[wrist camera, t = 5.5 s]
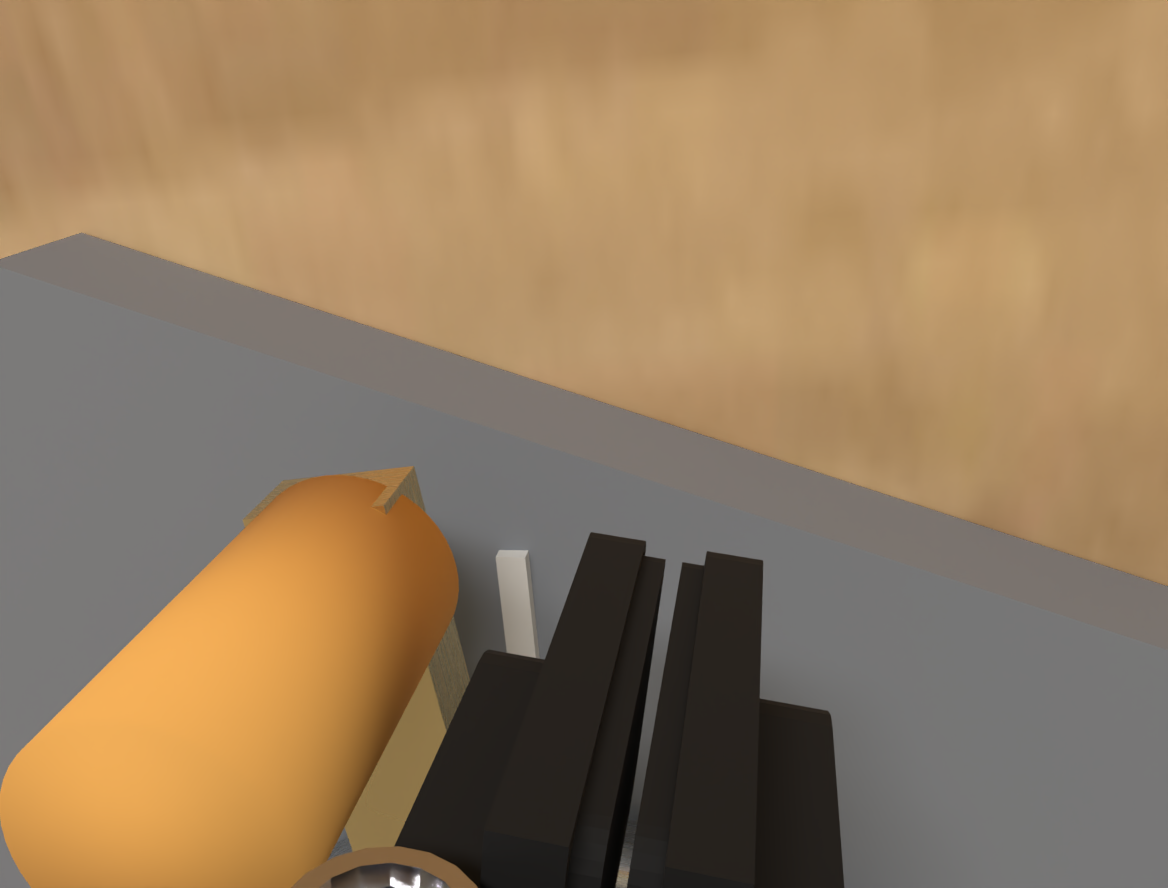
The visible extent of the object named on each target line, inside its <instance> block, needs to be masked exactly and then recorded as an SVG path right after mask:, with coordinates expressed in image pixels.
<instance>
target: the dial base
mask: <svg viewBox="0 0 1168 888" xmlns="http://www.w3.org/2000/svg"><path fill="white" fill-rule="evenodd" d="M410 466H414V468H415V471H416V475H417V479H418V483H419V487H420V491H421V494H422V498H423V502H424V506H425V510H426V514H427V515H428V516H429V517H430V518H431V519H432V520H433V522H434V523H435V524H436V525H437V526H438V528H439V529H440V531H441V532H442V534H443V536H444V537H445V539H446V540H447V543H448V545H449V547H450V549H451V551H452V554H453V557H454V560H455V563H456V567H457V572H458V580H459V593H458V602H457V605H456V609H455V613H454V615H453V617H454V621H455V624H456V628H457V632H458V636H459V640H460V644H461V647H462V651H463V655H464V659H465V663H466V667H467V670H468V674H469V678H470V679H471V677H472V675H473V673H474V671H475V668H476V666H477V664H478V662H479V660H480V658H481V657H482V655H483V653H484V652H485V651H487V650H488V649H489V650H494V651H500V652H506V653H511V654H517V655H522V656H528V657H533V658H539V659H544V660H545V657H546V655H547V652H548V649H549V646H550V644H551V641H552V638H553V635H554V632H555V630H556V627H557V624H558V621H559V618H560V616H561V613H562V610H563V607H564V604H565V602H566V599H567V596H568V593H569V590H570V588H571V585H572V582H573V579H574V576H575V574H576V571H577V568H578V565H579V562H580V560H581V557H582V554H583V551H584V548H585V546H586V543H587V540H588V537H589V535H590V533H591V532H594V533H601V534H607V535H613V536H619V537H625V538H631V539H637V540H643V541H646V553H645V556H649V557H655V558H661V559H666V562H665V570H664V578H663V585H662V592H661V599H660V606H659V613H658V620H657V627H656V634H655V641H654V648H653V655H652V662H651V669H650V676H649V683H648V690H647V697H646V704H645V712H644V719H643V726H642V733H641V740H640V747H639V754H638V761H637V768H636V775H635V782H634V788H633V794H632V801H631V806H630V812H629V818H628V819H630V820H634V821H638V815H639V810H640V804H641V798H642V792H643V787H644V781H645V775H646V769H647V763H648V758H649V752H650V746H651V740H652V735H653V729H654V723H655V717H656V711H657V706H658V700H659V694H660V688H661V683H662V677H663V671H664V665H665V659H666V654H667V648H668V642H669V636H670V631H671V625H672V619H673V613H674V607H675V602H676V596H677V590H678V584H679V579H680V573H681V567H682V562H686V563H692V564H698V565H704V564H705V558H706V553H707V551H710V552H716V553H722V554H728V555H734V556H741V557H747V558H753V559H759V560H763V596H762V632H761V668H760V699H766V700H771V701H777V702H782V703H788V704H793V705H799V706H804V707H810V708H816V709H821V710H827V711H828V712H829V713H830V715H831V720H832V726H833V740H834V753H835V767H836V780H837V794H838V807H839V821H840V835H841V848H842V862H843V875H844V888H1168V586H1165V585H1162V584H1159V583H1156V582H1153V581H1149V580H1146V579H1143V578H1140V577H1137V576H1134V575H1131V574H1128V573H1125V572H1122V571H1119V570H1116V569H1113V568H1110V567H1106V566H1103V565H1100V564H1097V563H1094V562H1091V561H1088V560H1085V559H1082V558H1079V557H1076V556H1073V555H1070V554H1067V553H1063V552H1060V551H1057V550H1054V549H1051V548H1048V547H1045V546H1042V545H1039V544H1036V543H1033V542H1030V541H1027V540H1024V539H1020V538H1017V537H1014V536H1011V535H1008V534H1005V533H1002V532H999V531H996V530H993V529H990V528H987V527H984V526H981V525H977V524H974V523H971V522H968V521H965V520H962V519H959V518H956V517H953V516H950V515H947V514H944V513H941V512H938V511H934V510H931V509H928V508H925V507H922V506H919V505H916V504H913V503H910V502H907V501H904V500H901V499H898V498H895V497H891V496H888V495H885V494H882V493H879V492H876V491H873V490H870V489H867V488H864V487H861V486H858V485H855V484H852V483H849V482H845V481H842V480H839V479H836V478H833V477H830V476H827V475H824V474H821V473H818V472H815V471H812V470H809V469H806V468H802V467H799V466H796V465H793V464H790V463H787V462H784V461H781V460H778V459H775V458H772V457H769V456H766V455H763V454H759V453H756V452H753V451H750V450H747V449H744V448H741V447H738V446H735V445H732V444H729V443H726V442H723V441H720V440H716V439H713V438H710V437H707V436H704V435H701V434H698V433H695V432H692V431H689V430H686V429H683V428H680V427H677V426H673V425H670V424H667V423H664V422H661V421H658V420H655V419H652V418H649V417H646V416H643V415H640V414H637V413H634V412H630V411H627V410H624V409H621V408H618V407H615V406H612V405H609V404H606V403H603V402H600V401H597V400H594V399H591V398H587V397H584V396H581V395H578V394H575V393H572V392H569V391H566V390H563V389H560V388H557V387H554V386H551V385H548V384H544V383H541V382H538V381H535V380H532V379H529V378H526V377H523V376H520V375H517V374H514V373H511V372H508V371H505V370H501V369H498V368H495V367H492V366H489V365H486V364H483V363H480V362H477V361H474V360H471V359H468V358H465V357H462V356H458V355H455V354H452V353H449V352H446V351H443V350H440V349H437V348H434V347H431V346H428V345H425V344H422V343H419V342H415V341H412V340H409V339H406V338H403V337H400V336H397V335H394V334H391V333H388V332H385V331H382V330H379V329H376V328H372V327H369V326H366V325H363V324H360V323H357V322H354V321H351V320H348V319H345V318H342V317H339V316H336V315H333V314H329V313H326V312H323V311H320V310H317V309H314V308H311V307H308V306H305V305H302V304H299V303H296V302H293V301H290V300H286V299H283V298H280V297H277V296H274V295H271V294H268V293H265V292H262V291H259V290H256V289H253V288H250V287H247V286H243V285H240V284H237V283H234V282H231V281H228V280H225V279H222V278H219V277H216V276H213V275H210V274H207V273H204V272H201V271H197V270H194V269H191V268H188V267H185V266H182V265H179V264H176V263H173V262H170V261H167V260H164V259H161V258H158V257H154V256H151V255H148V254H145V253H142V252H139V251H136V250H133V249H130V248H127V247H124V246H121V245H118V244H115V243H111V242H108V241H105V240H102V239H99V238H96V237H93V236H90V235H87V234H84V233H79V234H76V235H73V236H70V237H67V238H64V239H61V240H58V241H55V242H51V243H48V244H45V245H42V246H39V247H36V248H33V249H30V250H27V251H24V252H21V253H18V254H15V255H12V256H8V257H5V258H2V259H0V791H1V787H2V782H3V779H4V776H5V774H6V772H7V769H8V767H9V765H10V764H11V762H12V761H13V759H14V758H15V757H16V755H17V754H18V753H19V752H20V751H21V750H22V749H23V748H24V747H25V746H26V745H27V744H28V743H29V742H30V741H31V740H32V739H33V738H34V737H35V736H36V735H37V734H38V733H39V732H40V731H41V730H42V729H43V728H44V727H45V726H46V725H47V724H48V723H49V722H50V721H51V720H52V719H53V718H54V717H55V716H56V715H57V714H58V713H59V712H60V711H61V710H62V709H63V708H64V707H65V706H66V705H67V704H68V703H69V702H70V701H71V700H72V699H73V698H74V697H75V696H76V695H77V694H78V693H79V692H80V691H81V690H82V689H83V688H84V687H85V686H86V685H87V684H88V683H89V682H90V681H91V680H92V679H93V678H94V677H95V676H96V675H97V674H98V673H99V672H100V671H101V670H102V669H103V668H104V667H105V666H106V665H107V664H108V663H109V662H110V661H111V660H112V659H113V658H114V657H115V656H116V655H117V654H118V653H119V652H120V651H121V650H122V649H123V648H124V647H125V646H126V645H128V644H129V643H130V642H131V641H132V640H133V639H134V638H135V637H136V636H137V635H138V634H139V633H140V632H141V631H142V630H143V629H144V628H145V627H146V626H147V625H148V624H149V623H150V622H151V621H152V620H153V619H154V618H155V617H156V616H157V615H158V614H159V613H160V612H161V611H162V610H163V609H164V608H165V607H166V606H167V605H168V604H169V603H170V602H171V601H172V600H173V599H174V598H175V597H176V596H177V595H178V594H179V593H180V592H181V591H182V590H183V589H184V588H185V587H186V586H187V585H188V584H189V583H190V582H191V581H192V580H193V579H194V578H195V577H196V576H197V575H198V574H199V573H200V572H201V571H202V570H203V569H204V568H205V567H206V566H207V565H208V564H209V563H210V562H211V561H212V560H213V559H214V558H215V557H216V556H217V555H218V554H219V553H220V552H221V551H222V550H223V549H224V548H225V547H226V546H227V545H228V544H229V543H230V542H231V541H232V540H233V539H234V538H235V537H236V536H237V535H238V534H239V533H240V532H241V531H242V530H243V529H244V528H245V526H244V523H243V519H244V518H245V517H246V516H247V515H248V514H249V513H250V512H251V511H252V510H253V509H254V508H255V507H256V506H257V505H258V504H259V503H260V502H261V501H262V500H263V499H264V498H265V497H266V496H267V495H268V494H269V493H270V492H271V491H272V490H273V489H274V488H275V487H277V486H278V485H279V484H280V483H281V482H282V481H283V480H291V479H300V478H309V477H318V476H325V475H337V474H346V473H355V472H364V471H373V470H382V469H392V468H401V467H410ZM347 837H348V836H347V833H346V830H345V827H344V829H343V831H342V833H341V835H340V837H339V839H338V841H337V842H339V841H341V840H343V839H345V838H347ZM0 888H31V887H30V885H29V884H28V882H27V881H26V880H25V878H24V877H23V875H22V874H21V873H20V871H19V869H18V867H17V865H16V864H15V862H14V860H13V858H12V856H11V854H10V851H9V849H8V846H7V844H6V842H5V838H4V834H3V831H2V827H1V821H0Z"/></svg>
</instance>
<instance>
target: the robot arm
mask: <svg viewBox="0 0 1168 888" xmlns="http://www.w3.org/2000/svg"><path fill="white" fill-rule="evenodd" d="M645 553H646V541H643V540H637V539H631V538H625V537H619V536H613V535H607V534H601V533H594V532H591V533H590V535H589V537H588V540H587V543H586V546H585V548H584V551H583V554H582V557H581V560H580V562H579V565H578V568H577V571H576V574H575V576H574V579H573V582H572V585H571V588H570V590H569V593H568V596H567V599H566V602H565V604H564V607H563V610H562V613H561V616H560V618H559V621H558V624H557V627H556V630H555V632H554V635H553V638H552V641H551V644H550V646H549V649H548V652H547V655H546V657H545V660H544V659H539V658H533V657H528V656H522V655H517V654H511V653H506V652H500V651H494V650H489V649H488V650H487V651H485V652H484V653H483V655H482V657H481V658H480V660H479V662H478V664H477V666H476V668H475V671H474V673H473V675H472V677H471V679H470V681H469V684H468V686H467V688H466V690H465V692H464V695H463V697H462V699H461V701H460V703H459V706H458V708H457V710H456V712H455V714H454V716H453V719H452V721H451V723H450V725H449V727H448V730H447V732H446V734H445V736H444V738H443V741H442V743H441V745H440V747H439V749H438V751H437V754H436V756H435V758H434V760H433V762H432V765H431V767H430V769H429V771H428V773H427V776H426V778H425V780H424V782H423V784H422V786H421V789H420V791H419V793H418V795H417V797H416V800H415V802H414V804H413V806H412V808H411V811H410V813H409V815H408V817H407V819H406V821H405V824H404V826H403V828H402V830H401V832H400V835H399V837H398V839H397V841H396V843H395V846H394V847H374V848H364V849H361V850H357V851H354V852H350V853H347V854H343V855H340V856H336V857H334V858H332V859H330V860H328V861H327V862H325V863H323V864H321V865H320V866H318V867H316V868H314V869H312V870H311V871H309V872H307V873H306V874H305V875H304V876H303V877H301V878H300V879H299V880H298V881H297V882H296V883H295V884H294V885H293V886H292V887H291V888H616V883H617V877H618V872H619V866H620V861H621V856H622V850H623V845H624V839H625V834H626V829H627V823H628V818H629V812H630V806H631V801H632V794H633V788H634V782H635V775H636V768H637V761H638V754H639V747H640V740H641V733H642V726H643V719H644V712H645V704H646V697H647V690H648V683H649V676H650V669H651V662H652V655H653V648H654V641H655V634H656V627H657V620H658V613H659V606H660V599H661V592H662V585H663V578H664V570H665V562H666V559H661V558H655V557H649V556H645ZM762 596H763V560H759V559H753V558H747V557H741V556H734V555H728V554H722V553H716V552H710V551H707V553H706V558H705V564H704V565H698V564H692V563H686V562H682V567H681V573H680V579H679V584H678V590H677V596H676V602H675V607H674V613H673V619H672V625H671V631H670V636H669V642H668V648H667V654H666V659H665V665H664V671H663V677H662V683H661V688H660V694H659V700H658V706H657V711H656V717H655V723H654V729H653V735H652V740H651V746H650V752H649V758H648V763H647V769H646V775H645V781H644V787H643V792H642V798H641V804H640V810H639V815H638V821H637V827H636V833H635V839H634V845H633V851H632V858H631V864H630V870H629V877H628V883H627V888H844V875H843V862H842V848H841V835H840V821H839V807H838V794H837V780H836V767H835V753H834V740H833V726H832V720H831V715H830V713H829V712H828V711H827V710H821V709H816V708H810V707H804V706H799V705H793V704H788V703H782V702H777V701H771V700H766V699H760V668H761V632H762Z"/></svg>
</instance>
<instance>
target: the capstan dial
mask: <svg viewBox="0 0 1168 888" xmlns="http://www.w3.org/2000/svg"><path fill="white" fill-rule="evenodd" d="M243 523H244V526H245V528H244V529H243V530H242V531H241V532H240V533H239V534H238V535H237V536H236V537H235V538H234V539H233V540H232V541H231V542H230V543H229V544H228V545H227V546H226V547H225V548H224V549H223V550H222V551H221V552H220V553H219V554H218V555H217V556H216V557H215V558H214V559H213V560H212V561H211V562H210V563H209V564H208V565H207V566H206V567H205V568H204V569H203V570H202V571H201V572H200V573H199V574H198V575H197V576H196V577H195V578H194V579H193V580H192V581H191V582H190V583H189V584H188V585H187V586H186V587H185V588H184V589H183V590H182V591H181V592H180V593H179V594H178V595H177V596H176V597H175V598H174V599H173V600H172V601H171V602H170V603H169V604H168V605H167V606H166V607H165V608H164V609H163V610H162V611H161V612H160V613H159V614H158V615H157V616H156V617H155V618H154V619H153V620H152V621H151V622H150V623H149V624H148V625H147V626H146V627H145V628H144V629H143V630H142V631H141V632H140V633H139V634H138V635H137V636H136V637H135V638H134V639H133V640H132V641H131V642H130V643H129V644H128V645H126V646H125V647H124V648H123V649H122V650H121V651H120V652H119V653H118V654H117V655H116V656H115V657H114V658H113V659H112V660H111V661H110V662H109V663H108V664H107V665H106V666H105V667H104V668H103V669H102V670H101V671H100V672H99V673H98V674H97V675H96V676H95V677H94V678H93V679H92V680H91V681H90V682H89V683H88V684H87V685H86V686H85V687H84V688H83V689H82V690H81V691H80V692H79V693H78V694H77V695H76V696H75V697H74V698H73V699H72V700H71V701H70V702H69V703H68V704H67V705H66V706H65V707H64V708H63V709H62V710H61V711H60V712H59V713H58V714H57V715H56V716H55V717H54V718H53V719H52V720H51V721H50V722H49V723H48V724H47V725H46V726H45V727H44V728H43V729H42V730H41V731H40V732H39V733H38V734H37V735H36V736H35V737H34V738H33V739H32V740H31V741H30V742H29V743H28V744H27V745H26V746H25V747H24V748H23V749H22V750H21V751H20V752H19V753H18V754H17V755H16V757H15V758H14V759H13V761H12V762H11V764H10V765H9V767H8V769H7V772H6V774H5V776H4V779H3V782H2V787H1V791H0V821H1V827H2V831H3V834H4V838H5V842H6V844H7V846H8V849H9V851H10V854H11V856H12V858H13V860H14V862H15V864H16V865H17V867H18V869H19V871H20V873H21V874H22V875H23V877H24V878H25V880H26V881H27V882H28V884H29V885H30V887H31V888H291V887H292V886H293V885H294V884H295V883H296V882H297V881H298V880H299V879H300V878H301V877H303V876H304V875H305V874H306V873H307V872H309V871H311V870H312V869H314V868H316V867H318V866H320V865H321V864H323V863H325V862H327V861H328V860H330V859H332V858H334V857H336V856H340V855H343V854H347V853H350V852H354V851H357V850H361V849H364V848H374V847H394V846H395V843H396V841H397V839H398V837H399V835H400V832H401V830H402V828H403V826H404V824H405V821H406V819H407V817H408V815H409V813H410V811H411V808H412V806H413V804H414V802H415V800H416V797H417V795H418V793H419V791H420V789H421V786H422V784H423V782H424V780H425V778H426V776H427V773H428V771H429V769H430V767H431V765H432V762H433V760H434V758H435V756H436V754H437V751H438V749H439V747H440V745H441V743H442V741H443V738H444V736H445V734H446V732H447V730H448V727H449V725H450V723H451V721H452V719H453V716H454V714H455V712H456V710H457V708H458V706H459V703H460V701H461V699H462V697H463V695H464V692H465V690H466V688H467V686H468V684H469V681H470V678H469V674H468V670H467V667H466V663H465V659H464V655H463V651H462V647H461V644H460V640H459V636H458V632H457V628H456V624H455V621H454V617H453V615H454V613H455V609H456V605H457V602H458V593H459V580H458V572H457V567H456V563H455V560H454V557H453V554H452V551H451V549H450V547H449V545H448V543H447V540H446V539H445V537H444V536H443V534H442V532H441V531H440V529H439V528H438V526H437V525H436V524H435V523H434V522H433V520H432V519H431V518H430V517H429V516H428V515H427V514H426V510H425V506H424V502H423V498H422V494H421V491H420V487H419V483H418V479H417V475H416V471H415V468H414V466H410V467H401V468H392V469H382V470H373V471H364V472H355V473H346V474H337V475H325V476H318V477H309V478H300V479H291V480H283V481H282V482H281V483H280V484H279V485H278V486H277V487H275V488H274V489H273V490H272V491H271V492H270V493H269V494H268V495H267V496H266V497H265V498H264V499H263V500H262V501H261V502H260V503H259V504H258V505H257V506H256V507H255V508H254V509H253V510H252V511H251V512H250V513H249V514H248V515H247V516H246V517H245V518H244V519H243ZM344 827H345V830H346V833H347V836H348V837H347V838H345V839H343V840H341V841H339V842H337V841H338V839H339V837H340V835H341V833H342V831H343V829H344ZM636 827H637V821H634V820H630V819H628V823H627V829H626V834H625V839H624V845H623V850H622V856H621V861H620V866H619V872H618V877H617V883H616V888H627V883H628V877H629V870H630V864H631V858H632V851H633V845H634V839H635V833H636Z"/></svg>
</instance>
